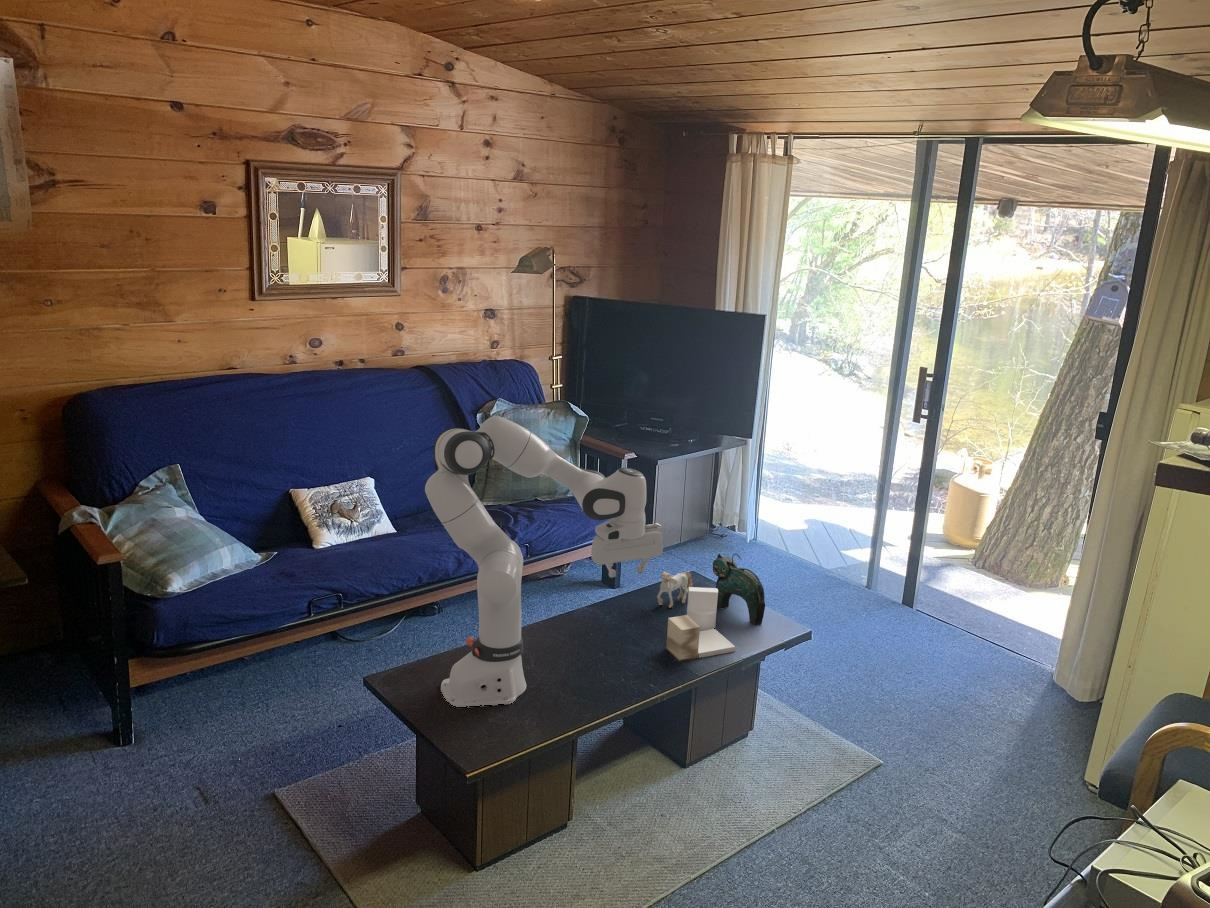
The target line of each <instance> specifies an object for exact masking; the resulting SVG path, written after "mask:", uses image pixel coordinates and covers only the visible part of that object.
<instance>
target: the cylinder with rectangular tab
mask: <svg viewBox="0 0 1210 908" xmlns="http://www.w3.org/2000/svg"><path fill="white" fill-rule="evenodd" d="M717 599H718V589H717V588H716V587H698V586H695V587H694V586H692V587H689V591H688V593H687V607H686V615H687V616H688V617H690V618H691V619H692V620H693V621H694V622H695V623H696V624H697V625H699V626H700V631H704V630H710V629H714V628H715V629H716V620H717V612H718V611H717V610H718V608H717Z"/></svg>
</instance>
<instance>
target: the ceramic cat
mask: <svg viewBox="0 0 1210 908" xmlns="http://www.w3.org/2000/svg"><path fill="white" fill-rule="evenodd" d="M734 556H737V558H739V561H741V560H742V558H741V556H740V555H739V554H738V553H733V554H732V557H730V556H722V555H721V554H720V553H718V554H717V556H716V559H714V560H713V562H712V573H713V574H714V575H715V576H717V580H716V583H715V588H717V589H718V599H717V607H718V608H717V609H719V608H724V609H726V608H728V607H730V605H729V604H730V598H731V597H732V595H735V596H738V597H740V598H741V599H743V601H745V603H746V605H747V609H748V617H749V619H748V620H749V624H751V625H753V626H759V625H762V623H763V619H764V617H765V616H764V615H765V610H766V603H765V601H766V600H765V590H764V587H763V584H762V582H761V580H760V578H759V576H758V575H757V574H756V573H755V572H754V571H752V570H750V569H749V568H744V567H739V566H738V564H737V563H736V562H735V560H734ZM725 607H726V608H725Z"/></svg>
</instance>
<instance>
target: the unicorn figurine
mask: <svg viewBox="0 0 1210 908" xmlns="http://www.w3.org/2000/svg"><path fill="white" fill-rule="evenodd" d="M660 576H661V579H662V581H661V582H660V590H659V591H658V594H657V595H656V597H657V602H658V605H659V606H660V605H664V599H663V598H661V596H662V594H663V593H664V592H665V593H667V594H668V599H669V604H668V607H669V608H671V607H672V606H673V607H674V601H673V595H672V592H674V591H676V590H678V589H679V595H678V596H677V597H676V599H677V598H678V599H680V598H681V597H682V598H681V604H682V603H685V604H686V601H687V600H686V599H687V595H688V591H689V587H693V586H694V584H693V580H692V574H691V572H689V571H685V572H683V573H681V572H680V573H679V572H678V573H676V574H675V575H674V576H673V575H671V573H669V572H667V571H663V572H662V573H661V574H660ZM683 590H684V592H683ZM673 607H672V608H673Z"/></svg>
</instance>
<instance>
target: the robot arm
mask: <svg viewBox="0 0 1210 908" xmlns="http://www.w3.org/2000/svg"><path fill="white" fill-rule="evenodd" d="M491 460H494V461H495V462H497V463H498V464H501V465H502V466H503V467H505V468H507V469H509V470H510V471H511V472H513V473H515V474H517V475H519V476H521V477H525V478H528V479H529V478H530V479H531V478H532V479H533V478H536V477H538V476H540V475H544V476H547V477H549V478H550V479H552V480H554V481H555V482H557V483H558V484H560V485H562V486H564V487H565V488H567V489H568V490H569V492H571V494H572V496H573V497H574V499H575V500H576V501H577V503H578V505H579V506H580V508H581V510H582V511H583V513H584V515H585V516H586V517H588V518H589V519H591V520H594V521H604V522H601V523H600V524H598V525H596V526H595V528H594V531H595V533H596V535H595V536H594V537H593V540H592V544H591V554H590V557H591V560H592V561H593V563H595V564H596V565H598V566H603V565H605V566H606V568H607V570H608V577H609V578H611V579H612V578H616V577H617V571H616V570H615V569H613V568H612V567H613V566H614V564H616V563H622V562H628V561H629V562H630V561H638V560H641V562H640V563H639V565H636V572H637V573H638V574H644V573H645V570H646V569H645V568H646V566H647V565H648V563H649V562H650V561H649V560H650V559H651V558H658V557H661V556H662V554H663V553H664V549H663V547H664V546H663V545H664V544H663V538H662V537H663V533H664V532H663V531H664V529H663V526H662V525H661V524H659V523H652V524H651V523H650V524H646V512H645V509H646V508H645V507H646V504H647V480H646V476H644V474H643V473H642V472H641V471H639V470H637V469H634V468H631V467H619V468H618V469H617V470H616V471H615V472H614V473H612V474H611V475H609V476H607V477H606V476H605V475H604V474H603V473H601V472H599V471H597V470H593V469H586V468H583V467H579V466H577V465H575V464H574V463H572V462H571V461H568V460H567V459H565V458H564V457H563V456H560V455H559V454H557V453H556V452H555V451H553V450H552V448H551V447H550V446H549V445H548V444H547V443H546V442H545V441H544V440H543V439H541V438H540V437H539V436H538V435H536V434H534V433H533V432H532V431H530V430H529V429H527V428H525V427H523V426H522V425H520V424H518V423H517V422H514V421H512V420H510V419H508V418H506V417H503V416H499V415H493V416H490V417H489V418H487V419H485V420H484V421H483V423H481V425H480V427H479V428H478V429H477V430H473V431H472V430H468V429H466V428H458V427H457V428H456V427H452V428H451V427H449V428H447V429H445V430H443V431H441V432H440V433H439V434H438V435H437V437H436V438H435V440H434V442H433V461H434V463H433V465H434V469H435V472H434V473H433V474H432V475H431V476H430V477H429V478H428V479H427V480H426V483H425V486H424V493H425V494H426V495H425V496H426V498H427V499H428V502H429V504H430V506H431V508H432V510H433V512H434V513H435V515H436V517H437V519H438V520H439V521H440V522H441V525H442V526H443V527H444V529H445V530H446V532H447V533H448V534H449V536H450V537H451V539H452V540H453V542H454V543H455V544H456V546H457V547H458V548H459V549H461V550H463V551H465V552H466V553H467V554H468V555H469V556H470V557H471V558H472V560H474V562H476V565H477V567H478V571H477V576H476V587H477V590H476V592H477V603H478V606H477V607H478V636H477V639H476V640H475V639H474V638H473V637H472V636H469V637H467V638H466V641H465V642H466V644H467V646H468V647H471V651H470V652H469V653H467V654H466V655H464V656H463V657H462V658H460V660H458V661H457V662H455V663H454V664H453V665H452V667H451V670H450V673H449V677H448V678H445V679H443V680H442V681H441V684H440V692H442V693H441V695H442V694H443V696H444V697H443V696H442V697H443V699H444V698H445V699H446V700H445V699H444V700H445V702H446V701H447V702H449V703H450V704H451V705H453V706H456V707H466V706H468V707H467V708H470V707H469V706H480V705H482V706H480V707H485V706H484V705H492V706H499V705H498V704H504V705H511V703H512V704H514V703H515V702H516V700H517V698H518V697H519V696H521V695H522V694H523V693H524V692H525V691H526V689H527V682H526V679H525V676H524V675H525V674H524V669H523V660H522V658H523V654H524V653H523V652H524V642H523V641H524V640H523V636H522V618H523V616H522V615H523V614H522V577H523V569H524V568H523V567H524V556H523V554H522V550H521V548H520V546H519V544H518V543H516V542H515V541H514V540H512V539H511V538H510V537H509V536H508V535H507V533H505V531H503V530H502V529H501V527H499V525H497V523H496V522H495V520H493V517H492V516H491V514H489V512H488V511H487V509H486V507H485V506H484V504H483V503H482V501H481V500H480V499H479V497H478V496H477V494H476V492H474V490H473V488H472V487H471V484H470V482H469V475H474V474H475V473H477V472H479V471H480V470H481V469H483V468H484V467H485V465H487V464H488V463H489V462H490V461H491ZM606 520H607V521H606ZM514 701H515V702H514ZM447 702H446V703H447ZM513 702H514V703H513ZM450 704H449V705H450ZM451 705H450V706H451ZM453 706H452V707H453Z"/></svg>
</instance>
